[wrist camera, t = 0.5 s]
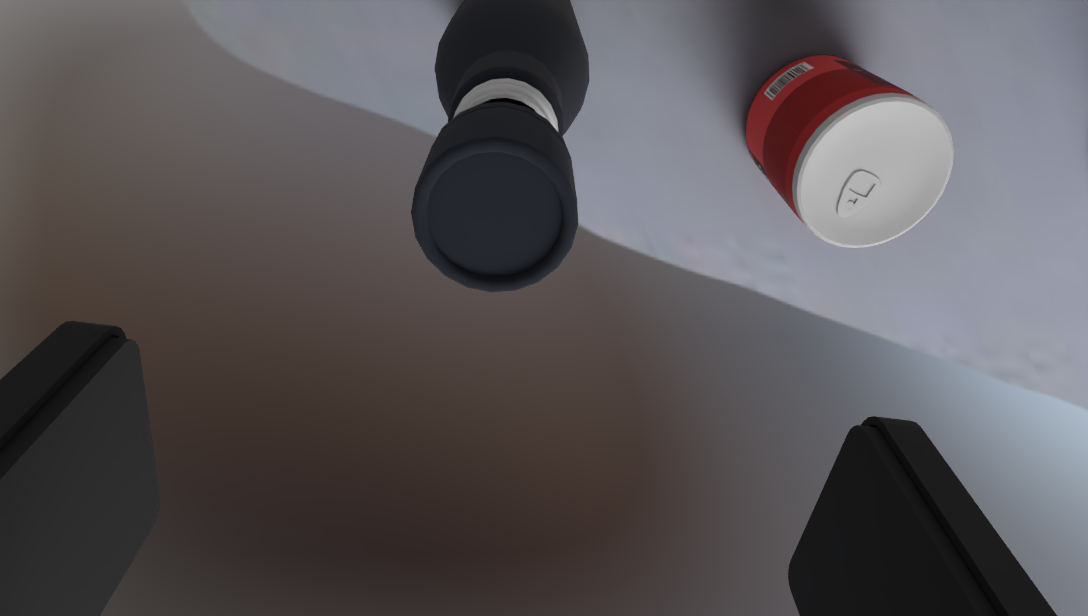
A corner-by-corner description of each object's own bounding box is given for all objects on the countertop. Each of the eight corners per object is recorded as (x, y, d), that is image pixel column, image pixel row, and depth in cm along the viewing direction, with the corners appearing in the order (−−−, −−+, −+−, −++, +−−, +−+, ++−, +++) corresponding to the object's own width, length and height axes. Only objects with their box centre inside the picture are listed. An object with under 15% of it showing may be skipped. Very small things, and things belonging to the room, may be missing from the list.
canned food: (727, 169, 48) (775, 239, 38) (764, 41, 44) (828, 83, 34) (839, 186, 48) (915, 259, 39) (886, 62, 44) (983, 109, 35)
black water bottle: (511, -66, 41) (470, 9, 15) (596, 14, 43) (692, 205, 17) (441, 27, 43) (298, 235, 17) (525, 99, 45) (513, 382, 19)
